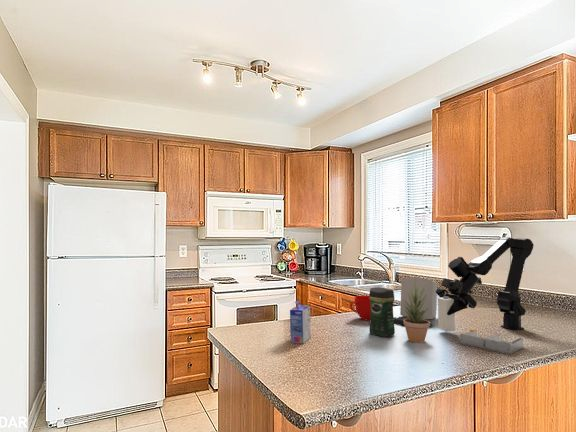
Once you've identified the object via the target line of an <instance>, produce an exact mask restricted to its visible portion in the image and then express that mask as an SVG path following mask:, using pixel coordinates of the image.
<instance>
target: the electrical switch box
mask: <svg viewBox="0 0 576 432" xmlns="http://www.w3.org/2000/svg"><path fill="white" fill-rule="evenodd" d="M426 280H427V284H426V287H425V289H424V292H423V294H422V296H421V299H420V300H422V299H423V298H424V297H425V295H426V297H425V302H424V304H423V306H422V308H421V309H420V311H422V310H424V311H425V310H426V309H428V308H429V309H428V310H427V311H426V312H425V313H424V315H423V316H422V317H421V318H423V317H424V318H423V320H431V319H436V318H437V312H438V297H437V296H438V294H437V293H436V290H437V289H438V285H437V281H435V280H432V279H427V278H424V277H423V278H422V277H420V276H416V290H417V287H418V295H419V293H420V291H422V289H423V287H424V285H425V283H426ZM400 282H401V284H400V285H401V286H400V310H399V312H400V314H399V315H400V316H401V317H402V316H409V315H408V314H407V313H406V312H405V310H406V308H405V305H406V307H407V308H408V309H409V307H408V306H407V304H406V303H405V301H406V302H407V303H408V304H409V305H411V303H410V300H409V297H408V293H409V295H410V297H411V292H410V286H411V289H412V292H413V294H414V297H415V285H414V283H415V276H414V277H413V276H412V277H405V278H401V281H400ZM404 304H405V305H404ZM409 310H410V309H409ZM406 311H407V310H406ZM421 318H420V319H421Z"/></svg>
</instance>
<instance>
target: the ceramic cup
mask: <svg viewBox="0 0 576 432" xmlns="http://www.w3.org/2000/svg"><path fill="white" fill-rule="evenodd" d="M353 304H354V308H355V309H354V308H353ZM349 308H350V310H351V311H352V312H354V313H356V314H357V316H359V318H360V319H361V320H363V321H369V322H370V313H371V303H370V299H369V295H357V296H355V297H354V301H351V302H350V303H349Z"/></svg>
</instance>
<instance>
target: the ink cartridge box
mask: <svg viewBox="0 0 576 432" xmlns="http://www.w3.org/2000/svg"><path fill="white" fill-rule="evenodd" d="M294 303H295V305H296V306H294V307H293V308H291V309H289V321H290V322H289V327H290V330H289V331H290V343H291V344H292V343H293V344H301V345H302V344H305V343H306V342H307V341H308V340H309V339H310V338H311V306H310V305H303V304H301V303H300V301H299V300H296V301H294Z"/></svg>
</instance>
